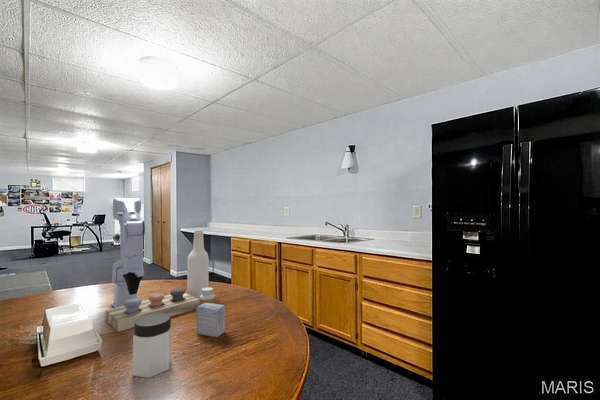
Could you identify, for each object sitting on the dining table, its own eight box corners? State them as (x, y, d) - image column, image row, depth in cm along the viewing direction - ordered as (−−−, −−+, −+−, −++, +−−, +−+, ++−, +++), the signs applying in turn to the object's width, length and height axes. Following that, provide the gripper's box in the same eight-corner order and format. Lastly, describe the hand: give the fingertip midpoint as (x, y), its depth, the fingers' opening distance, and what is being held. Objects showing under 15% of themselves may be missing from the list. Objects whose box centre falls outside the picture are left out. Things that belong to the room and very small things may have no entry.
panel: (105, 320, 98) (105, 310, 98) (182, 299, 119) (182, 291, 119) (118, 331, 89) (118, 320, 89) (199, 307, 110) (199, 298, 110)
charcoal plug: (167, 302, 109) (168, 290, 109) (180, 299, 113) (181, 287, 113) (174, 305, 106) (174, 293, 106) (187, 302, 110) (187, 290, 110)
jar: (163, 354, 75) (164, 310, 76) (177, 366, 70) (178, 318, 70) (126, 369, 68) (127, 320, 69) (139, 383, 63) (140, 330, 63)
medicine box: (225, 332, 89) (225, 304, 89) (217, 338, 85) (217, 309, 85) (205, 328, 92) (205, 302, 92) (196, 334, 87) (196, 306, 88)
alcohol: (182, 299, 120) (183, 230, 121) (197, 293, 128) (198, 228, 129) (198, 302, 117) (199, 230, 117) (212, 295, 125) (213, 229, 125)
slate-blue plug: (121, 314, 97) (121, 301, 97) (138, 310, 101) (138, 297, 101) (126, 318, 94) (127, 304, 94) (143, 314, 98) (143, 300, 98)
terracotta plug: (146, 308, 103) (146, 295, 103) (160, 304, 107) (160, 292, 107) (151, 311, 100) (152, 298, 100) (166, 307, 104) (166, 295, 104)
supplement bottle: (210, 318, 100) (210, 291, 100) (196, 317, 101) (196, 290, 101) (217, 313, 105) (217, 287, 105) (204, 311, 106) (204, 286, 106)
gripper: (113, 254, 100) (113, 292, 99) (128, 259, 90) (127, 301, 90) (135, 251, 105) (134, 288, 105) (151, 256, 95) (150, 296, 95)
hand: (133, 294), depth 97 cm, fingers closed
